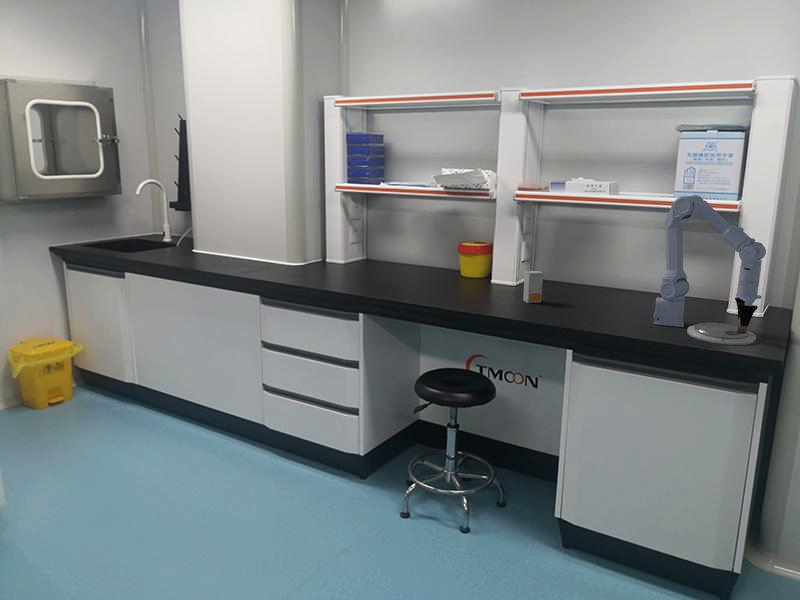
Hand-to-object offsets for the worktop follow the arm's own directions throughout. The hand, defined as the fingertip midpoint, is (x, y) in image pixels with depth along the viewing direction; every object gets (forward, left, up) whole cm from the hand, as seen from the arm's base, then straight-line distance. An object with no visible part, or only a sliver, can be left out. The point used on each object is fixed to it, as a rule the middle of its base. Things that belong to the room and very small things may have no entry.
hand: (743, 322), depth 206 cm
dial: (-6, 0, -4) cm, 7 cm away
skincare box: (-72, +24, -5) cm, 76 cm away
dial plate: (-6, 0, -5) cm, 8 cm away
